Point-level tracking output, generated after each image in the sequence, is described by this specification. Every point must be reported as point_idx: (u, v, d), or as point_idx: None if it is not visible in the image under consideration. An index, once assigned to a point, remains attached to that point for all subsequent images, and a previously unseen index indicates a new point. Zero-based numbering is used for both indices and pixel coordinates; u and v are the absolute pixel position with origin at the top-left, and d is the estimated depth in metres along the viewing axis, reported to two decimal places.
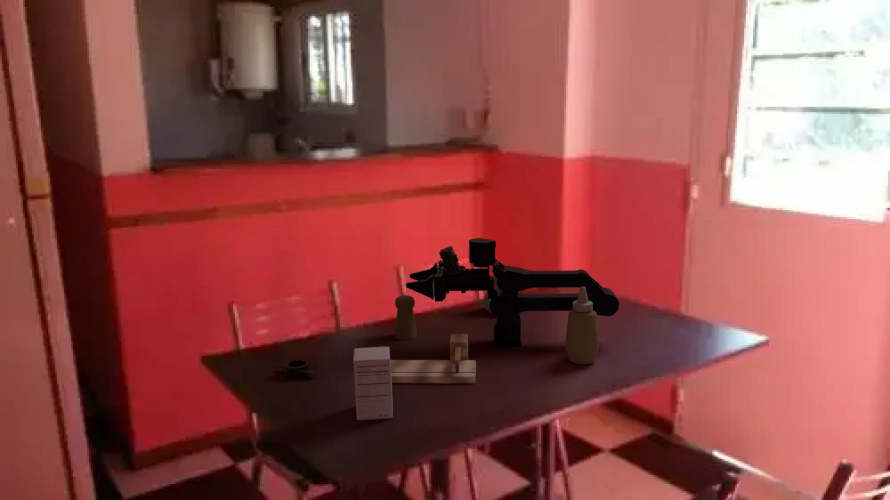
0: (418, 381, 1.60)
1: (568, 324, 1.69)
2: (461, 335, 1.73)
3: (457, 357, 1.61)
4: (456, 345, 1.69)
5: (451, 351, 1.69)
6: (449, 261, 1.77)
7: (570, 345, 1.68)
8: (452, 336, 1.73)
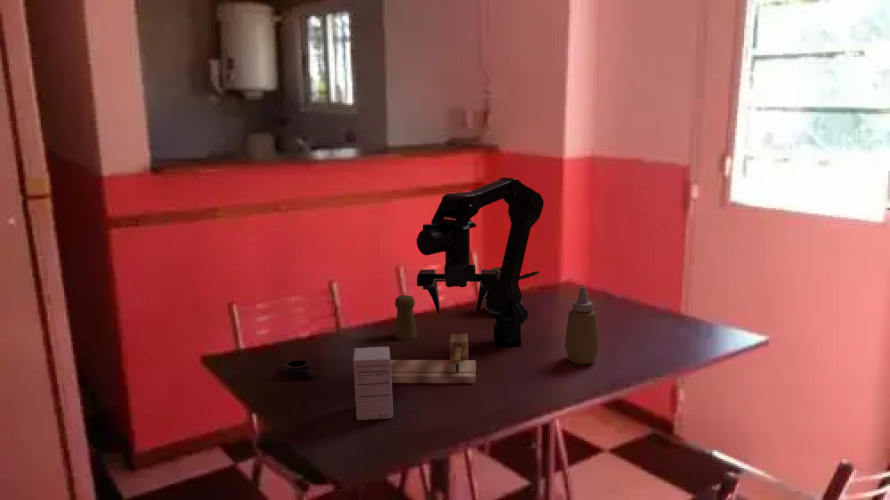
0: (418, 381, 1.60)
1: (568, 324, 1.69)
2: (461, 335, 1.73)
3: (457, 357, 1.61)
4: (456, 345, 1.69)
5: (451, 351, 1.69)
6: None
7: (570, 345, 1.68)
8: (452, 336, 1.73)
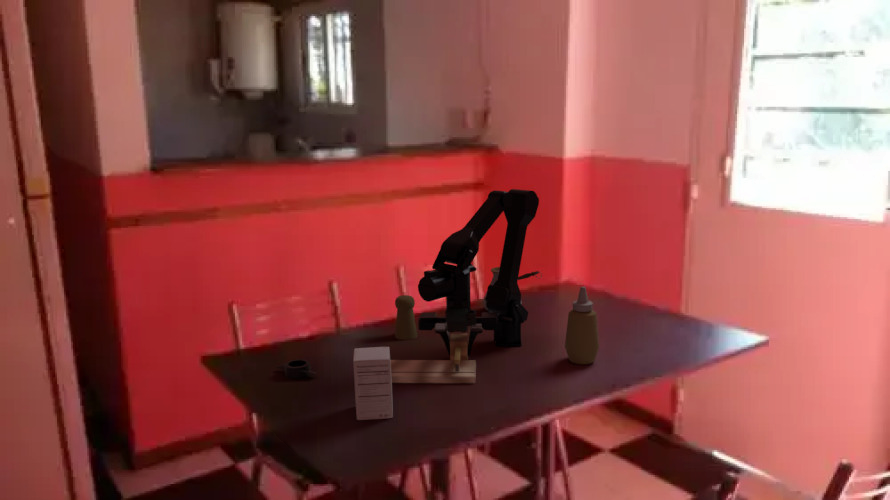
0: (418, 381, 1.60)
1: (568, 324, 1.69)
2: (461, 335, 1.73)
3: (457, 357, 1.61)
4: (456, 345, 1.69)
5: (451, 351, 1.69)
6: None
7: (570, 345, 1.68)
8: (452, 336, 1.73)
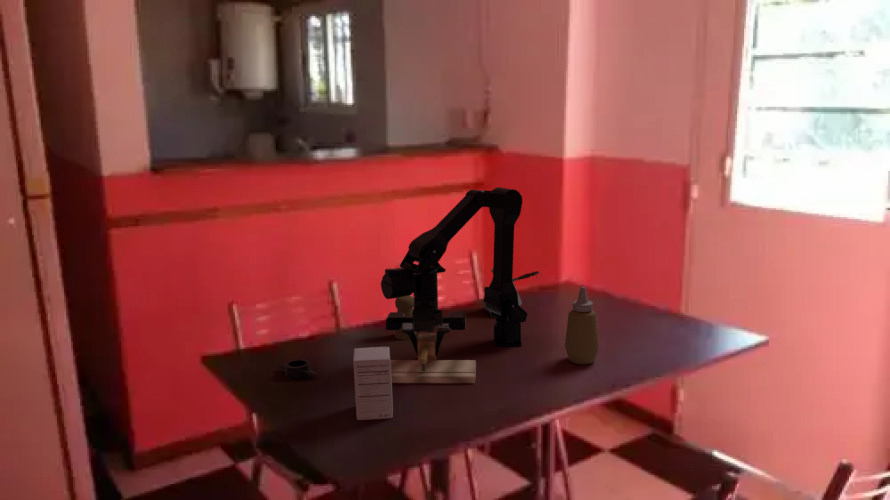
0: (418, 381, 1.60)
1: (568, 324, 1.69)
2: (429, 335, 1.74)
3: (424, 357, 1.62)
4: (423, 344, 1.69)
5: (418, 350, 1.70)
6: (442, 318, 1.65)
7: (570, 345, 1.68)
8: (420, 336, 1.73)
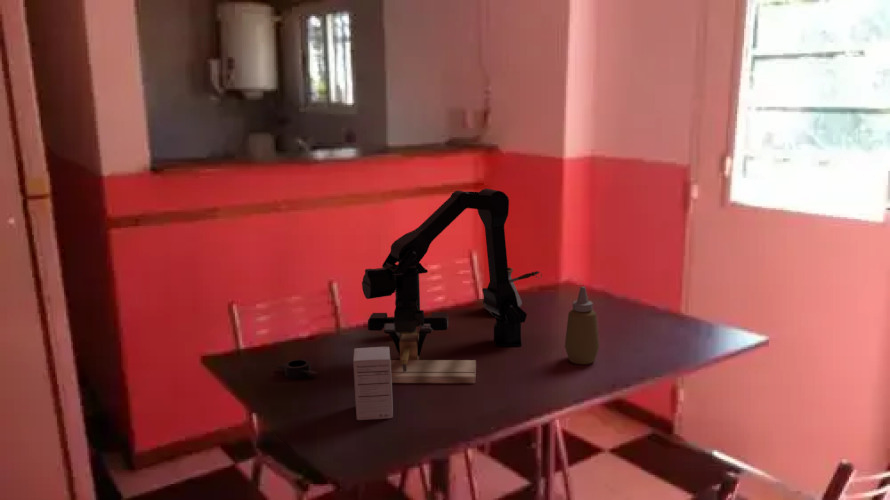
0: (418, 381, 1.60)
1: (568, 324, 1.69)
2: (412, 335, 1.74)
3: (405, 357, 1.62)
4: (405, 345, 1.70)
5: (401, 351, 1.70)
6: None
7: (570, 345, 1.68)
8: (402, 336, 1.73)
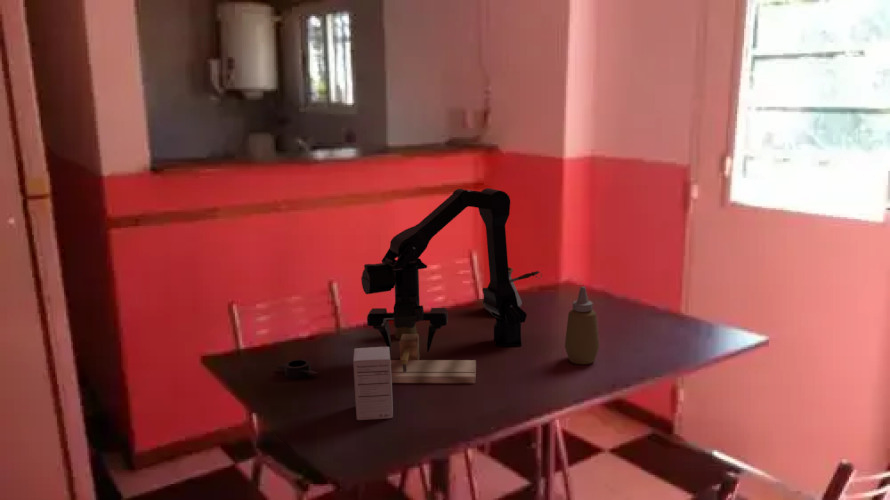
0: (418, 381, 1.60)
1: (568, 324, 1.69)
2: (412, 335, 1.74)
3: (405, 357, 1.62)
4: (405, 345, 1.70)
5: (401, 351, 1.70)
6: (423, 314, 1.65)
7: (570, 345, 1.68)
8: (403, 336, 1.73)
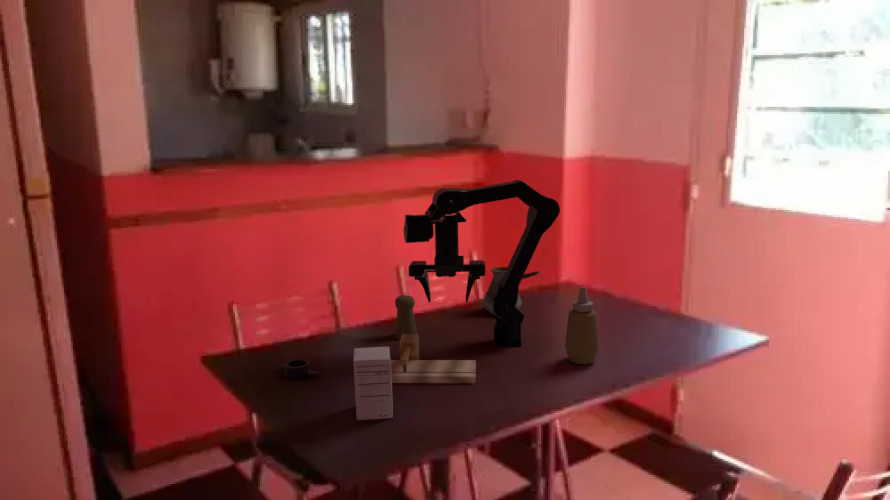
0: (418, 381, 1.60)
1: (568, 324, 1.69)
2: (412, 335, 1.74)
3: (405, 357, 1.62)
4: (405, 345, 1.70)
5: (401, 351, 1.70)
6: None
7: (570, 345, 1.68)
8: (403, 336, 1.73)
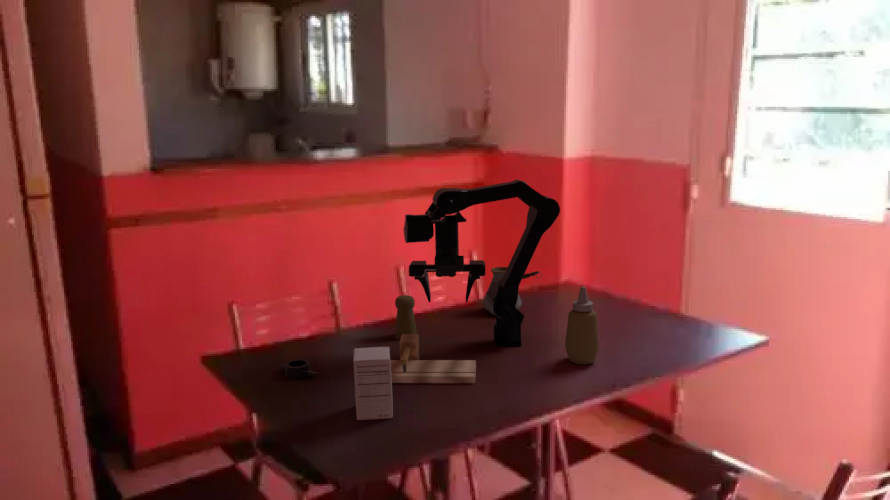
0: (418, 381, 1.60)
1: (568, 324, 1.69)
2: (412, 335, 1.74)
3: (405, 357, 1.62)
4: (405, 345, 1.70)
5: (401, 351, 1.70)
6: None
7: (570, 345, 1.68)
8: (402, 336, 1.73)
